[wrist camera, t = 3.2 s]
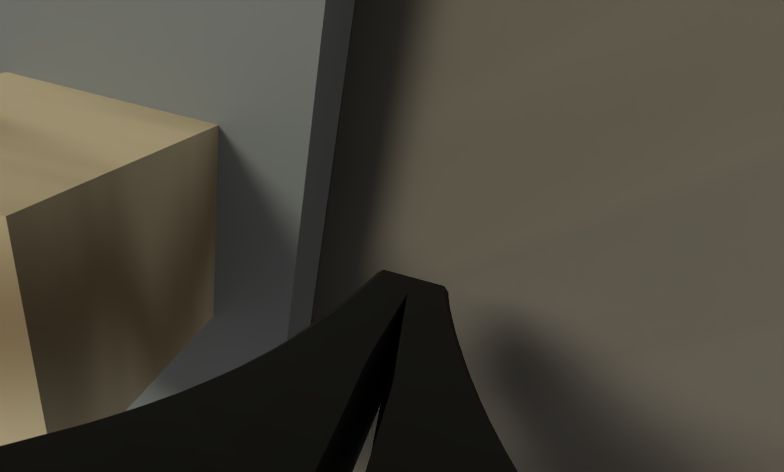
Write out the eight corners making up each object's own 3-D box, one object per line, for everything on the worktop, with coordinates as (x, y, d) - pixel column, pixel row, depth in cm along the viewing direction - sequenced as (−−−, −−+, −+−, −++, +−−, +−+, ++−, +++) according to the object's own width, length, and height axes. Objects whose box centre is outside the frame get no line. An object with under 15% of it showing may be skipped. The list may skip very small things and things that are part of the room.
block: (213, 316, 13) (57, 485, 8) (38, 265, 13) (-199, 398, 9) (218, 125, 10) (5, 216, 6) (7, 72, 11) (-336, 120, 6)
